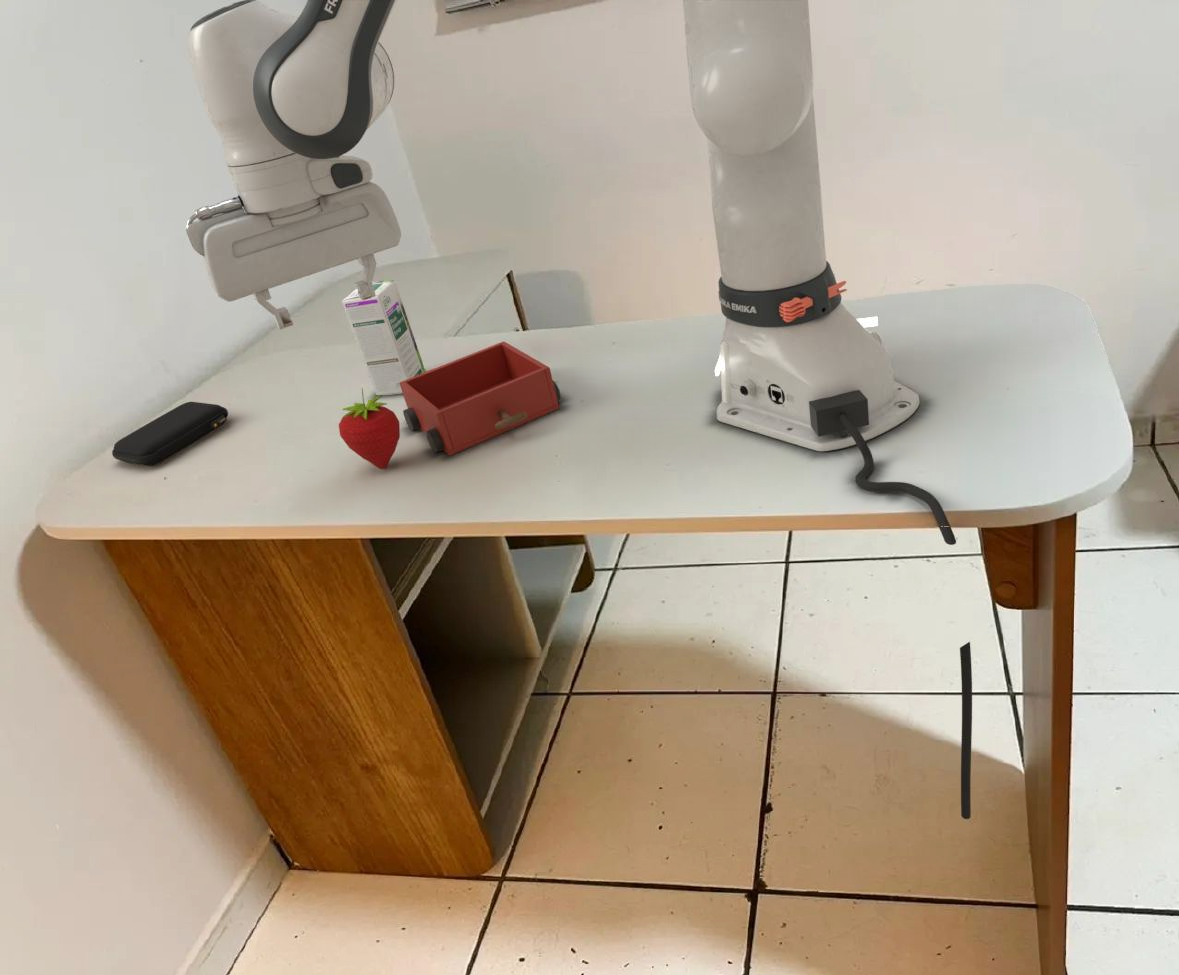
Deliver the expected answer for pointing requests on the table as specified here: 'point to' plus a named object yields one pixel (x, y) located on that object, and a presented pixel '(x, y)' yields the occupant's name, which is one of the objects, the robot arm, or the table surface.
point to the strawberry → (371, 431)
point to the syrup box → (384, 337)
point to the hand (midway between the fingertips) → (327, 311)
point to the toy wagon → (478, 397)
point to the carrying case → (170, 433)
